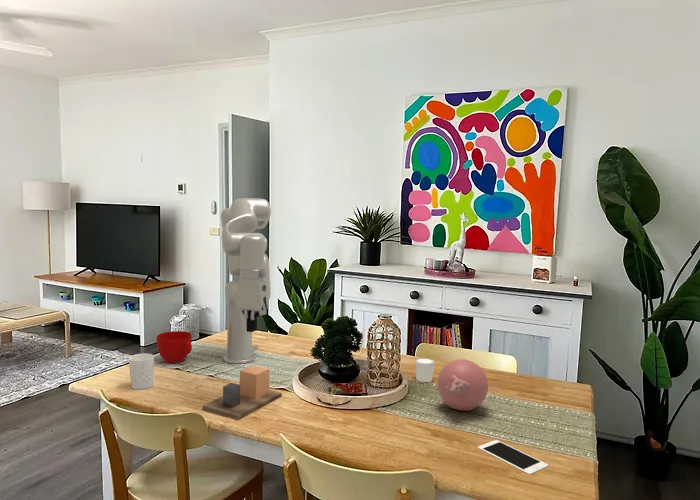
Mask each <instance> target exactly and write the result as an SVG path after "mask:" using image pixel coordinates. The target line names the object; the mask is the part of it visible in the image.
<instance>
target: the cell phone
mask: <svg viewBox="0 0 700 500" xmlns="http://www.w3.org/2000/svg"><path fill="white" fill-rule="evenodd" d="M477 449H479V450H481V451H482V452H485V453H487V454H489V455H491V456H492V457H494V458H495V459H498V460H500V461H502V462H504V463H506V464H508V465H510V466H511V467H513V468H515V469H517V470H519V471H521V472H523V473H525V474H527V475H533V474H534V473H535V474H536V473H537V472H539V471H541V470H542V469H545V468H548V467H549V463H546V462H543V461H542V460H540V459H538V458H536V457H533V456H532V455H529V454H527V453H525V452H523V451H521V450H518V448H514V447H512V446H511V445H508V444H507V443H504V442H501V441H500V440H498V439H495V440H491V441H489V442H487V443H484V444H482V445H479V446H477Z"/></svg>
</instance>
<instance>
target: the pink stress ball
mask: <svg viewBox="0 0 700 500" xmlns="http://www.w3.org/2000/svg"><path fill="white" fill-rule="evenodd" d="M488 381H489V380H488V377H487V375H486V372H485V371H484V370H483V369H482V367H480V366H479V364H477V363H475V362H474V361H471V360H469V359H465V358H464V359H462V358H460V359H459V358H458V359H455V360H452V361H449V362H448V363H446V364H445V365H444V366H443V367H442V369H441V370H440V371H439V374H438V376H437V382H436V383H437V384H436V385H437V391H438V394H439V395H440V398H441V399H442V401H443V402H444V403H445V404H446V405H447V406H449V407H450V408H452V409H454V410H458V411H461V412H462V411H463V412H464V411H471V410H474V409H476V408H478V407H479V406H481V405H482V403H484V401H485V399H486V397H487V394H488V393H489V391H488V390H489V382H488Z"/></svg>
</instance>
